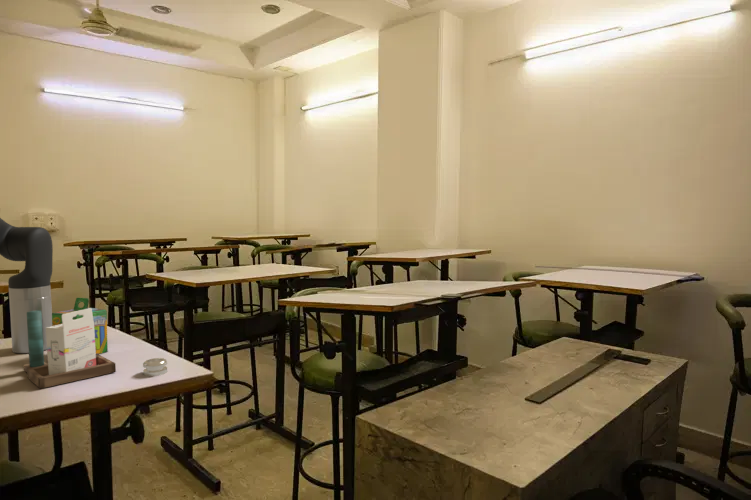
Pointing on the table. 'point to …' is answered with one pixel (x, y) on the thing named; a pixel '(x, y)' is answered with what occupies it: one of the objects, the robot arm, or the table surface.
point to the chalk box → (98, 319)
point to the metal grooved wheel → (155, 367)
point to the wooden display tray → (40, 367)
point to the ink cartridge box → (71, 343)
